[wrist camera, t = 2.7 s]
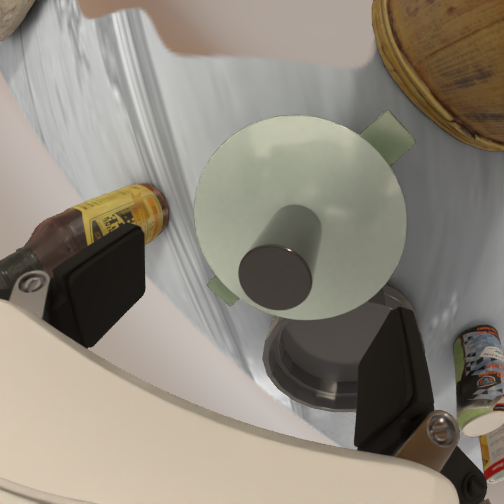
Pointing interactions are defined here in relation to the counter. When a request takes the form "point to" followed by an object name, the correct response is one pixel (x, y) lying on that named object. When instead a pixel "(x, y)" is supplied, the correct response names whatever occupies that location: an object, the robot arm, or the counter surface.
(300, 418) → the counter surface
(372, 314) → the pan
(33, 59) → the counter surface
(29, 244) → the sauce bottle
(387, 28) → the tankard
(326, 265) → the lid
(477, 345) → the beverage can
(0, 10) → the beige rounded lump
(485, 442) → the canned food
